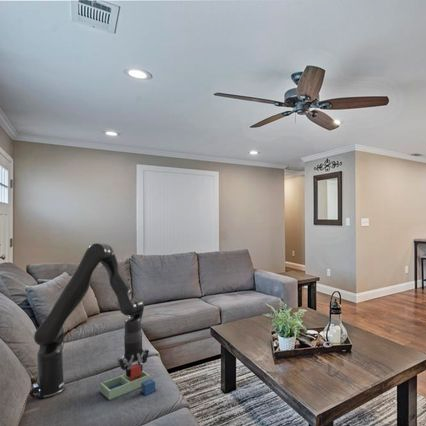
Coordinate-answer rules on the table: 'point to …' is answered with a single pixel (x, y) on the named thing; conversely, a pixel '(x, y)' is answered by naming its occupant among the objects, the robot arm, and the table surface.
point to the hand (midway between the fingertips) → (134, 374)
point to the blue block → (148, 386)
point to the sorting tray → (122, 385)
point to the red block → (135, 370)
